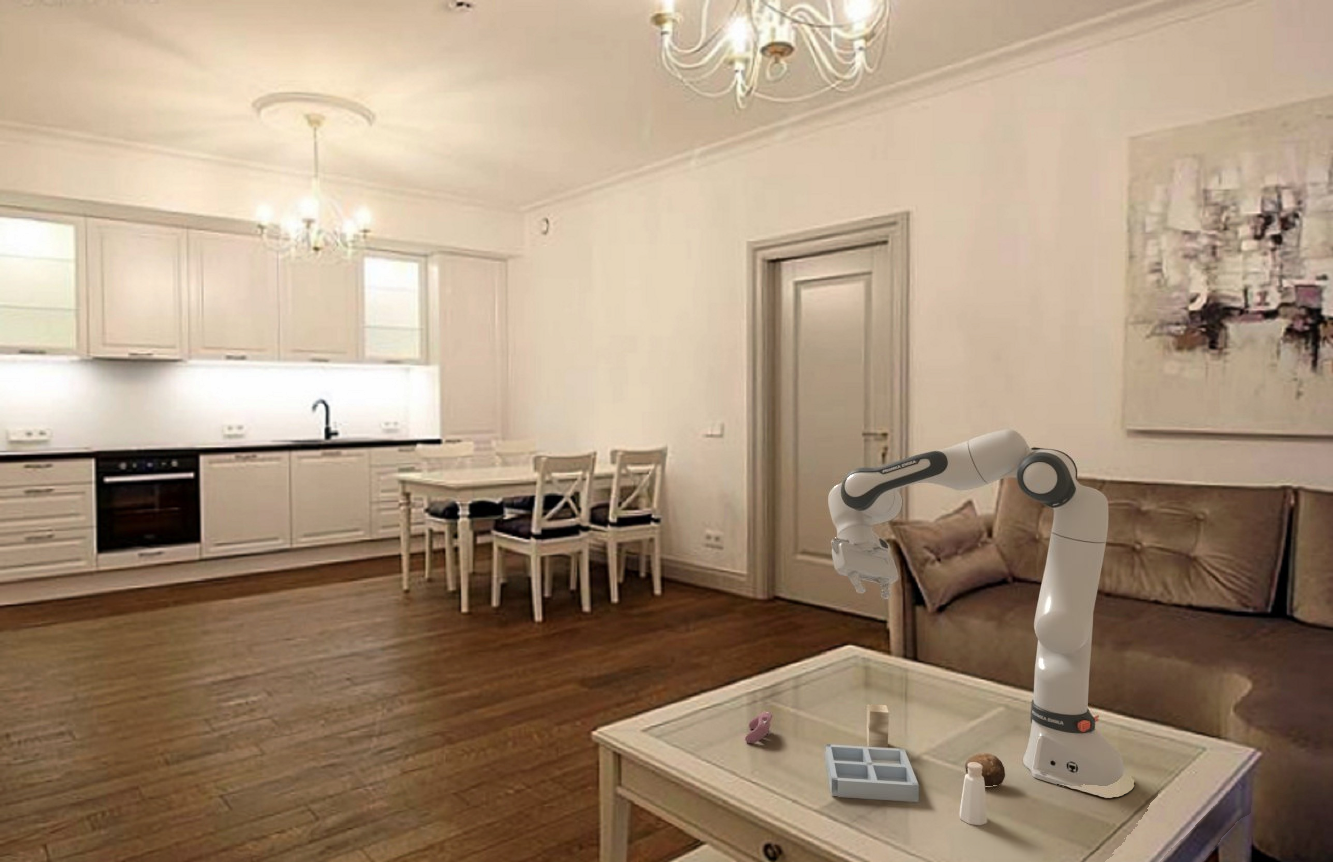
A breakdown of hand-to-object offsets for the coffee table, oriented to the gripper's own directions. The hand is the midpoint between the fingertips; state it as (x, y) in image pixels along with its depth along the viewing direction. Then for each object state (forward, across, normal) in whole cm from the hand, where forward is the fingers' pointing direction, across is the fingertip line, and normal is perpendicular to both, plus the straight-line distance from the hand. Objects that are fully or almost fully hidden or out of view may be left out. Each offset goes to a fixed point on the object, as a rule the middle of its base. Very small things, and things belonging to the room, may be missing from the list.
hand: (874, 595), depth 204 cm
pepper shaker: (+52, -2, -7) cm, 52 cm away
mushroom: (+44, +13, -3) cm, 46 cm away
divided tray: (+39, -6, +12) cm, 41 cm away
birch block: (+29, +8, +18) cm, 35 cm away
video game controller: (+22, -11, +37) cm, 44 cm away
